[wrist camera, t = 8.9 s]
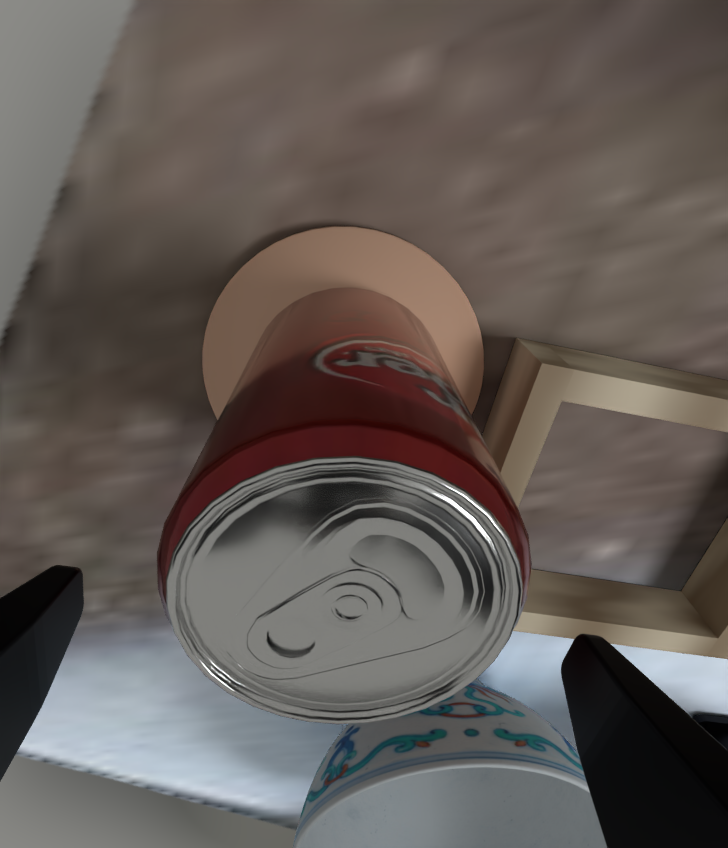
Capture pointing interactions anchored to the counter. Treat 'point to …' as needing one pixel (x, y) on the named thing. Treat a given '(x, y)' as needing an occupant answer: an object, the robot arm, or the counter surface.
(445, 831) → the chinaware
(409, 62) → the counter surface
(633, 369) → the square beige frame
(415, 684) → the soda can
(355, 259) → the saucer
